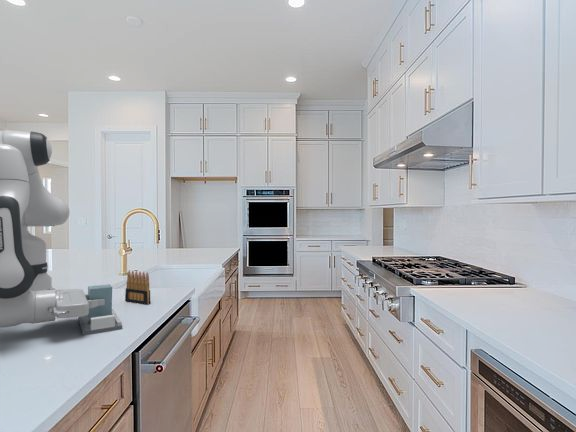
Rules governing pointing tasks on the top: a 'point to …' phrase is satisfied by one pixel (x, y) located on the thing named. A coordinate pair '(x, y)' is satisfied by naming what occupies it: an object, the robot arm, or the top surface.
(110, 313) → the block
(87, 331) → the mounting board
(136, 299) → the ammunition clip
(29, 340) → the top surface
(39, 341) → the top surface
